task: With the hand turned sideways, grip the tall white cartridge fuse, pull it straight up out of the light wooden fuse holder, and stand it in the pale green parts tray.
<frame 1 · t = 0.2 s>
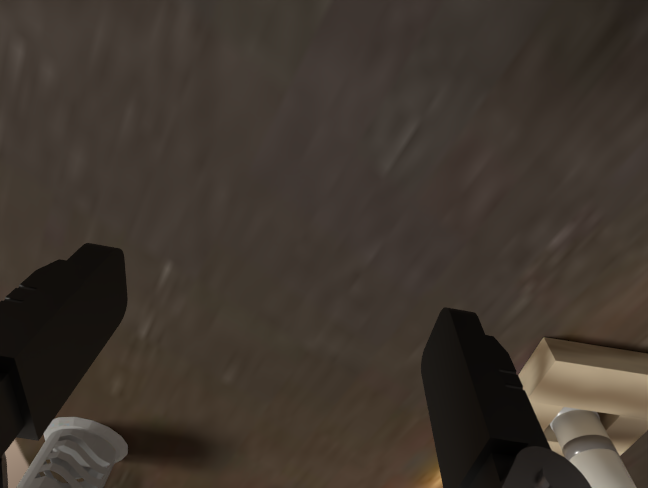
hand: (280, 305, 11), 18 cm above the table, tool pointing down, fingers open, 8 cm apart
fuse: (601, 478, 34), in the fuse holder
french press: (93, 443, 49), on the table
fuse holder: (565, 403, 40), on the table
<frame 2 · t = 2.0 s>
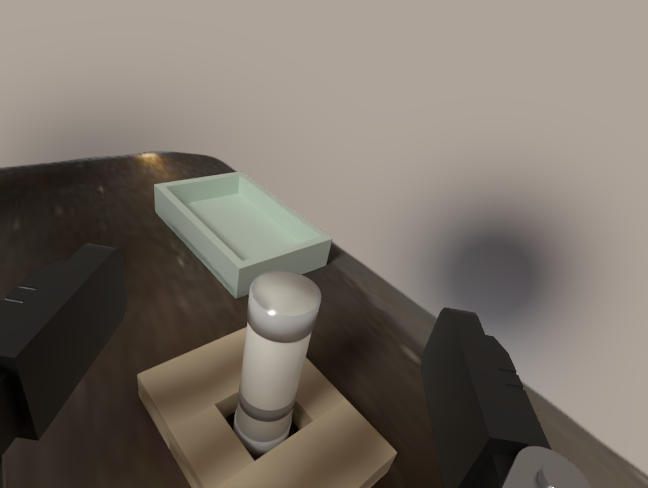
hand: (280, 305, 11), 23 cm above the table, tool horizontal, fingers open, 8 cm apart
fuse: (271, 371, 28), in the fuse holder
fuse holder: (260, 432, 32), on the table
parts tray: (238, 237, 54), on the table
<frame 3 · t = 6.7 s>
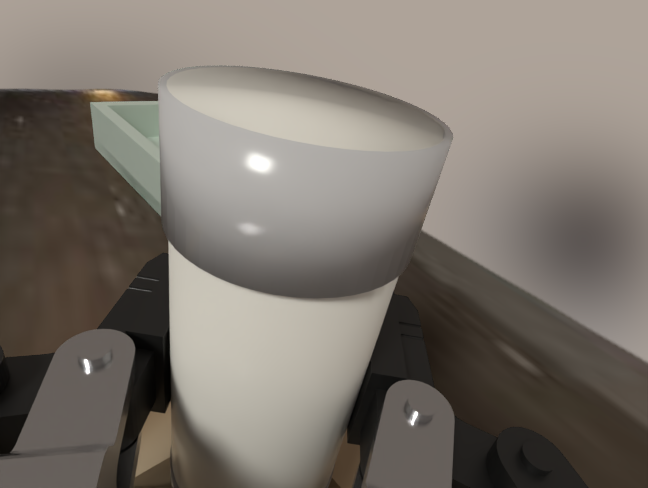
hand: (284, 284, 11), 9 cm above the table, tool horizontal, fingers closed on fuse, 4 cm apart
fuse: (262, 405, 10), in the fuse holder, touching gripper
parts tray: (218, 183, 35), on the table
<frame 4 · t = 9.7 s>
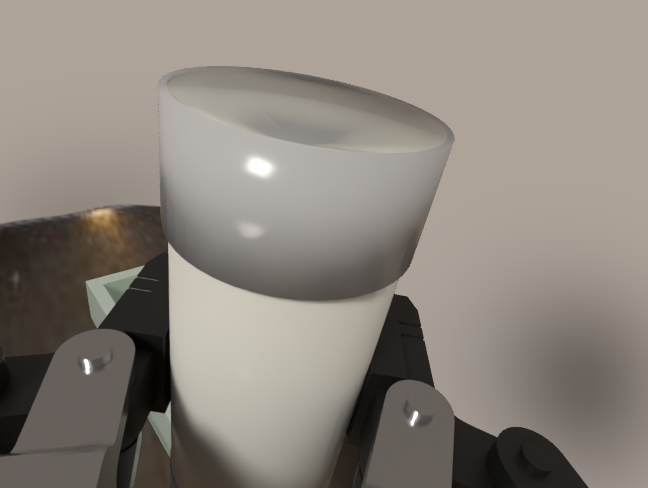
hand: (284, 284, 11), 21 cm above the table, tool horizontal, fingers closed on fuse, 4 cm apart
fuse: (262, 407, 10), point 19 cm above the table, touching gripper
parts tray: (215, 361, 35), on the table
when the fingers open (11 cm above the table, at t = 13.1 s): fuse drops 1 cm, resting on parts tray.
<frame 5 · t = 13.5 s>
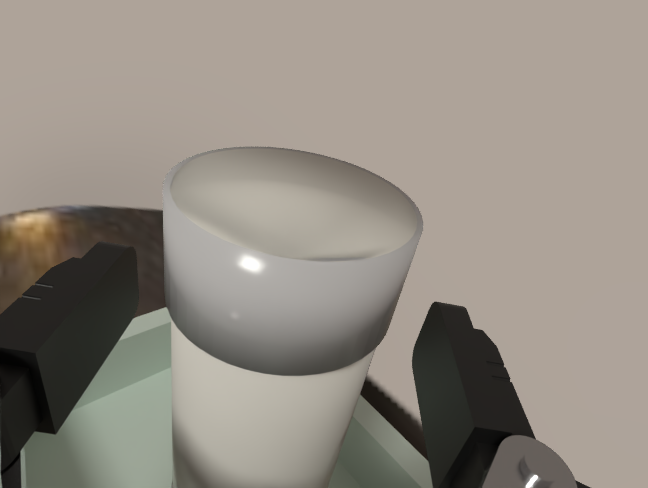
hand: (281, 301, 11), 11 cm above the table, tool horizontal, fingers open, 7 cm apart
fuse: (256, 444, 10), in the parts tray, point 8 cm above the table
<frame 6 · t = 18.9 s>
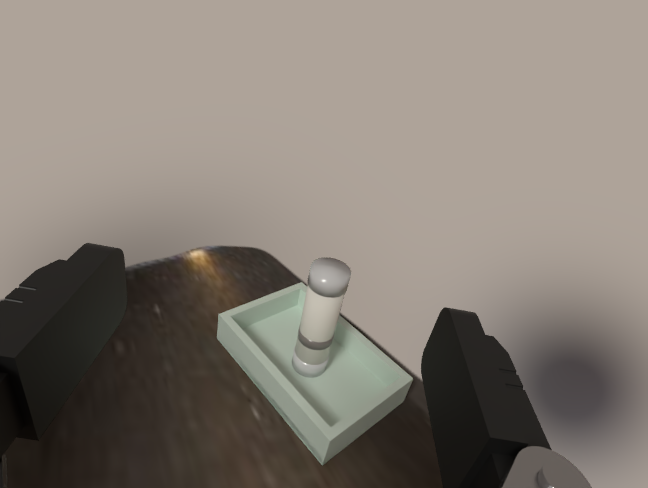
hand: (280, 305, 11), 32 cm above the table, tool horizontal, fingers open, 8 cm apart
fuse: (319, 320, 46), in the parts tray, point 8 cm above the table
parts tray: (307, 369, 50), on the table
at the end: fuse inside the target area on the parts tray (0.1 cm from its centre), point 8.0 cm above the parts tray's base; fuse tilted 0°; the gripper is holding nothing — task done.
